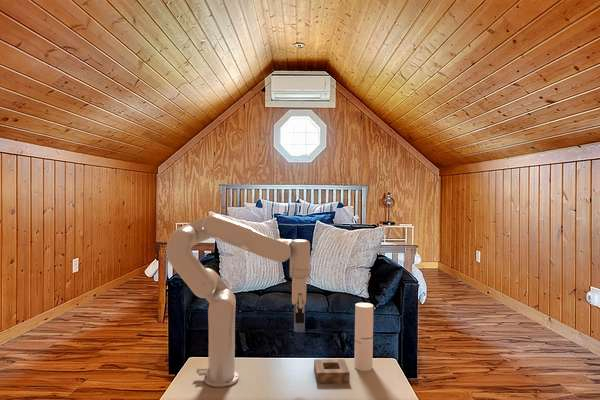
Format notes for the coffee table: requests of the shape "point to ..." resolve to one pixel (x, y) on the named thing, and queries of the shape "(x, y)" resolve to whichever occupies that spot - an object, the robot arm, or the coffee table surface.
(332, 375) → the socket block
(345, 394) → the coffee table surface
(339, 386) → the coffee table surface
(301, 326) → the peg
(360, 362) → the cylindrical container
